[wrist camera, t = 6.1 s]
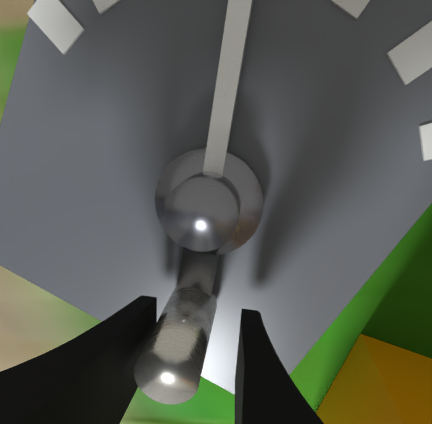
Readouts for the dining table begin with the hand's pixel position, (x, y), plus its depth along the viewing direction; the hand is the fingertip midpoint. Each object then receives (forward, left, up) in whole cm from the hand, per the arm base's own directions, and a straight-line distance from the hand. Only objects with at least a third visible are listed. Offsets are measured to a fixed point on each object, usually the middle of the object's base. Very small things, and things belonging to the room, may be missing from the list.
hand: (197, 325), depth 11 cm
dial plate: (+6, +3, -4) cm, 8 cm away
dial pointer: (+5, +2, -2) cm, 6 cm away
